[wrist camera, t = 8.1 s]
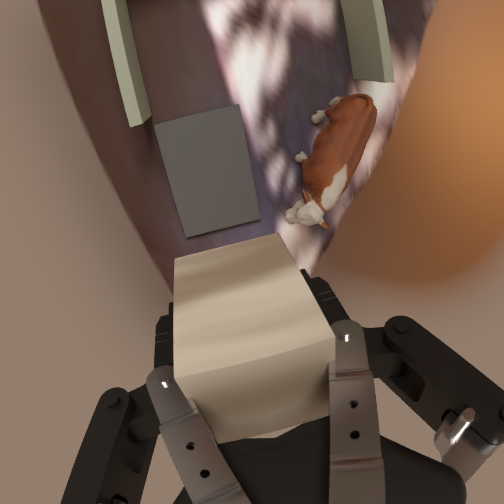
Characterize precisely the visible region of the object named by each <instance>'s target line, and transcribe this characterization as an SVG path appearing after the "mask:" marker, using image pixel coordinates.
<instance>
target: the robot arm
mask: <svg viewBox="0 0 504 504" xmlns="http://www.w3.org/2000/svg"><path fill="white" fill-rule="evenodd" d="M300 272H301V274H302V276H303V278H304V279H305V281H306V283H307V285H308V287H309V288H310V290H311V292H312V294H313V296H314V298H315V299H316V301H317V303H318V305H319V307H320V309H321V311H322V312H323V314H324V316H325V318H326V320H327V322H328V324H329V326H330V327H331V329H332V331H333V333H334V335H335V360H333V361H330V362H328V371H329V395H328V416H326V417H322V418H319V419H316V420H313V421H310V422H306V423H303V424H301V425H299V426H297V427H296V428H294V429H292V430H290V431H288V432H286V433H284V434H282V435H280V436H279V437H276V438H256V439H255V438H254V439H253V438H250V439H249V438H248V439H247V438H245V439H240V440H236V441H231V442H226V443H220V442H219V441H218V439H217V437H216V436H215V434H214V432H213V430H212V429H211V427H210V426H208V425H207V423H206V422H205V420H204V418H203V417H202V415H201V413H200V411H199V409H198V407H197V405H196V404H195V402H194V400H193V399H192V397H189V398H186V397H185V395H184V394H183V392H182V390H181V389H180V387H179V386H178V384H177V382H176V381H175V379H174V354H173V311H174V302H170V303H169V315H165V316H161V317H160V319H159V321H158V323H157V325H156V336H155V356H154V370H153V371H151V372H150V374H149V375H148V377H147V379H146V384H144V385H143V386H141V387H139V388H137V389H135V390H133V391H130V392H127V391H126V390H124V389H123V388H117V387H116V388H111V389H109V390H107V391H106V392H105V393H104V394H103V395H102V396H101V397H100V399H99V402H98V404H97V406H96V409H95V411H94V414H93V416H92V419H91V421H90V424H89V426H88V429H87V431H86V434H85V436H84V439H83V442H82V444H81V447H80V449H79V452H78V455H77V457H76V460H75V463H74V466H73V468H72V471H71V474H70V477H69V480H68V483H67V486H66V489H65V492H64V495H63V498H62V501H61V504H140V501H141V497H142V493H143V489H144V485H145V481H146V478H147V474H148V470H149V466H150V463H151V459H152V455H153V452H154V448H155V444H156V440H157V437H158V435H159V434H161V435H162V437H163V439H164V442H165V444H166V447H167V449H168V451H169V454H170V456H171V458H172V460H173V463H174V465H175V467H176V469H177V471H178V473H179V476H180V478H181V480H182V482H183V484H184V487H183V489H182V491H181V492H180V494H179V495H178V497H177V498H176V500H175V501H174V503H173V504H466V496H467V493H466V486H465V483H466V482H467V481H468V480H469V478H470V477H471V476H472V475H473V474H474V473H475V472H476V471H477V470H478V469H479V468H480V466H481V465H482V464H483V463H484V462H485V460H486V459H487V458H489V457H490V456H491V455H492V454H493V453H494V452H495V451H496V450H497V449H498V448H499V447H500V446H501V445H502V444H503V443H504V390H502V389H501V388H500V387H498V386H497V385H496V384H495V383H494V382H493V381H491V380H490V379H489V378H487V377H486V376H485V375H484V374H483V373H481V372H480V371H479V370H478V369H476V368H475V367H474V366H473V365H471V364H470V363H469V362H468V361H466V360H465V359H464V358H462V357H461V356H460V355H458V354H457V353H456V352H455V351H453V350H452V349H451V348H450V347H448V346H447V345H446V344H444V343H443V342H442V341H441V340H439V339H438V338H437V337H435V336H434V335H433V334H431V333H430V332H429V331H428V330H426V329H425V328H423V327H422V326H421V325H420V324H418V323H417V322H416V321H414V320H413V319H411V318H409V317H406V316H395V317H392V318H390V319H389V320H388V321H387V322H386V323H385V326H384V327H377V328H364V327H361V325H360V324H359V323H357V322H355V321H352V320H351V319H350V318H349V316H348V315H347V313H346V311H345V310H344V308H343V307H342V305H341V303H340V302H339V300H338V298H337V297H336V295H335V294H334V292H333V291H332V289H331V287H330V286H329V284H328V283H327V282H326V281H325V280H323V279H321V278H320V277H315V278H311V279H310V277H309V275H308V273H307V272H306V270H305V269H301V270H300ZM373 378H380V379H381V380H382V381H383V382H384V383H385V384H386V385H387V386H388V387H389V388H390V389H391V390H392V391H393V392H394V393H395V394H396V395H398V396H399V397H400V398H401V399H402V400H403V401H404V402H405V403H406V404H407V405H408V406H409V407H411V409H412V410H413V411H414V412H415V413H416V414H418V415H419V416H420V417H421V418H422V419H423V420H424V421H425V422H426V423H427V424H428V425H429V426H430V427H431V428H432V429H433V430H434V431H435V432H436V433H435V436H434V444H435V446H436V448H437V449H438V451H439V452H440V454H441V458H442V463H441V462H439V461H436V460H434V459H431V458H429V457H427V456H425V455H422V454H420V453H418V452H416V451H413V450H411V449H409V448H407V447H405V446H402V445H400V444H398V443H396V442H394V441H392V440H389V439H387V438H385V437H383V436H381V435H380V433H379V423H378V413H377V403H376V395H375V387H374V379H373Z"/></svg>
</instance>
